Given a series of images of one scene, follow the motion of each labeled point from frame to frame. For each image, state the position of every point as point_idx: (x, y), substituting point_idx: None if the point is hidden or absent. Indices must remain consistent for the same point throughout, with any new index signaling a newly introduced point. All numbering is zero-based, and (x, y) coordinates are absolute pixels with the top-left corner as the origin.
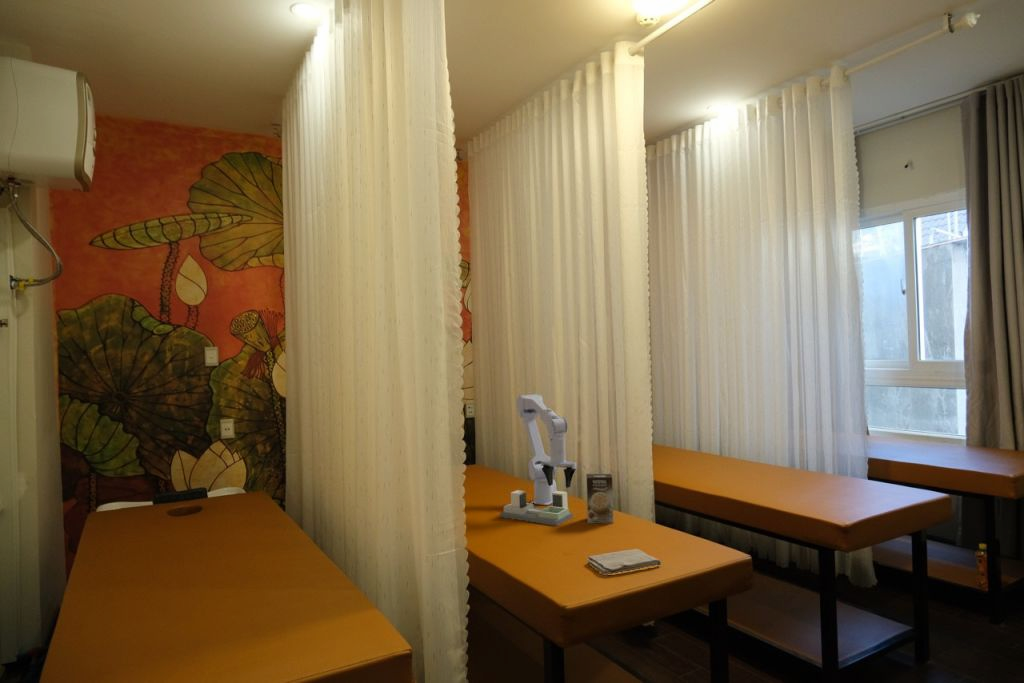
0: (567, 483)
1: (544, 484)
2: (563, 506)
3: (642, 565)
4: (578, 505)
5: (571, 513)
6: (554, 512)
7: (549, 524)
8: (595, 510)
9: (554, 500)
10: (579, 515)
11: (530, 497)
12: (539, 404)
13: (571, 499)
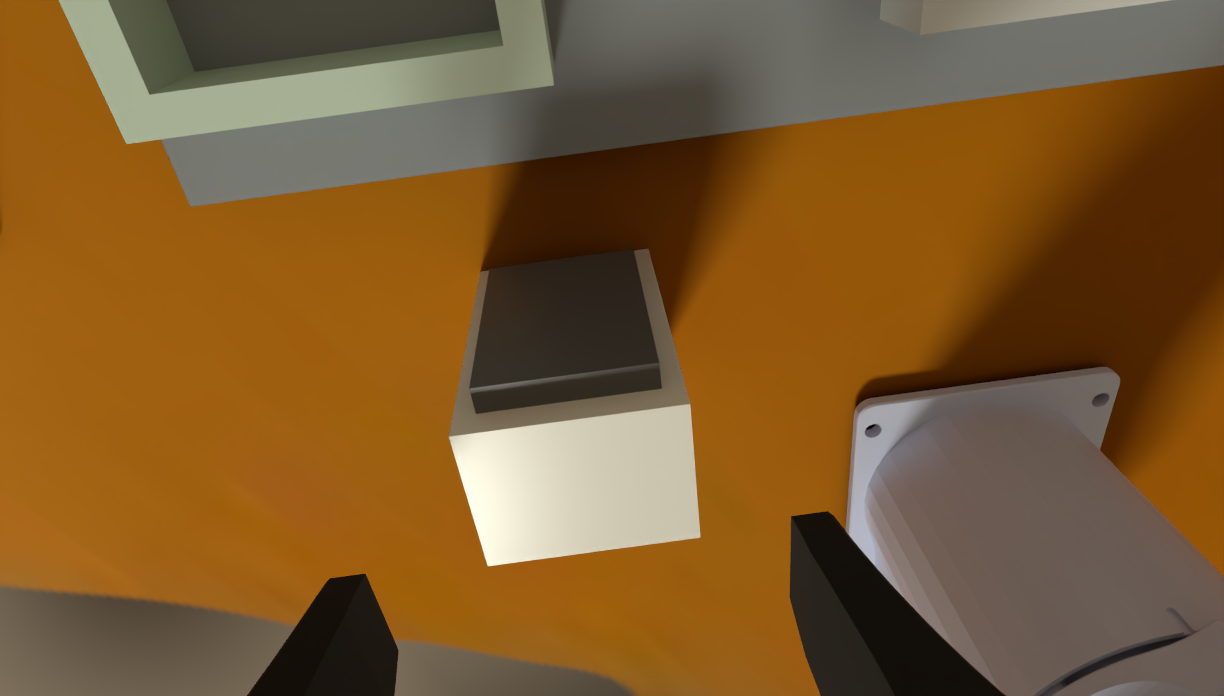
0: (276, 659)
1: (1045, 635)
2: (474, 323)
3: None
4: (539, 568)
5: (173, 164)
6: (429, 42)
7: None
8: None
9: (610, 316)
10: (212, 290)
11: (1192, 531)
12: None
13: (736, 663)
